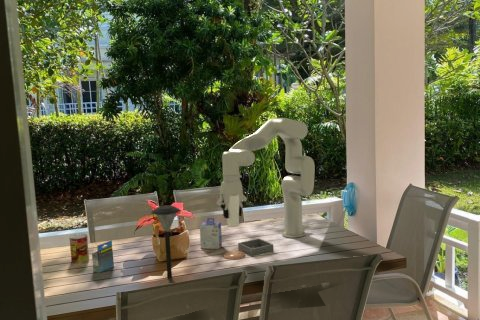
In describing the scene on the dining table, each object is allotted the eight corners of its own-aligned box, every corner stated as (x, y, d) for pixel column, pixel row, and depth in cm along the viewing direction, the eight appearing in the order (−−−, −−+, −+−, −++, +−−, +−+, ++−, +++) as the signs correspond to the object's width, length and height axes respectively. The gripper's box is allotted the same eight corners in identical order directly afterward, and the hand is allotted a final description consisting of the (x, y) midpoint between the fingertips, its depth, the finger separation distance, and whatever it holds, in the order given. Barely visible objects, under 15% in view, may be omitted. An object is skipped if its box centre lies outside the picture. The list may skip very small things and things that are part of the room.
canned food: (69, 260, 223) (67, 236, 221) (85, 256, 228) (83, 232, 226) (74, 265, 217) (72, 239, 215) (91, 260, 222) (89, 236, 220)
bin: (259, 245, 236) (259, 238, 235) (273, 251, 226) (273, 244, 225) (238, 250, 230) (238, 243, 229) (252, 256, 219) (251, 249, 219)
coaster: (237, 250, 228) (237, 249, 228) (249, 256, 220) (249, 255, 220) (219, 255, 223) (219, 253, 223) (230, 260, 215) (230, 259, 215)
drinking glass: (225, 224, 223) (224, 193, 221) (239, 223, 223) (238, 192, 221) (226, 228, 216) (224, 196, 214) (241, 227, 216) (239, 195, 215)
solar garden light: (183, 282, 192) (179, 209, 188) (153, 284, 191) (148, 211, 187) (184, 271, 204) (181, 203, 200) (156, 273, 203) (152, 204, 199)
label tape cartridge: (108, 265, 215) (106, 239, 213) (114, 266, 213) (112, 240, 211) (92, 271, 207) (90, 244, 206) (99, 273, 205) (97, 245, 204)
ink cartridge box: (222, 245, 237) (221, 217, 235) (219, 249, 232) (218, 220, 230) (203, 245, 239) (202, 217, 237) (200, 248, 234) (199, 220, 232)
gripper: (243, 175, 224) (244, 212, 227) (210, 179, 215) (212, 218, 218) (251, 177, 218) (252, 215, 220) (218, 181, 209) (220, 221, 211)
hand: (232, 216), depth 219 cm, fingers closed on drinking glass, 6 cm apart
